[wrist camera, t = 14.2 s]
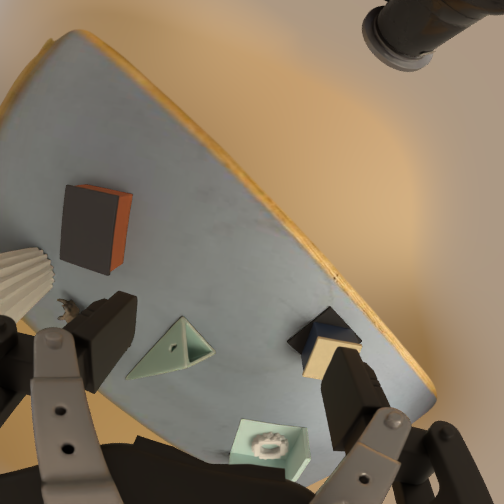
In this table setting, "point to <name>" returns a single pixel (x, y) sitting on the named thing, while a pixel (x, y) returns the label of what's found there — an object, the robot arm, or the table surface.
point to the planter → (174, 351)
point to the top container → (325, 347)
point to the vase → (23, 280)
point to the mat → (326, 318)
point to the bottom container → (94, 227)
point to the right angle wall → (272, 447)
